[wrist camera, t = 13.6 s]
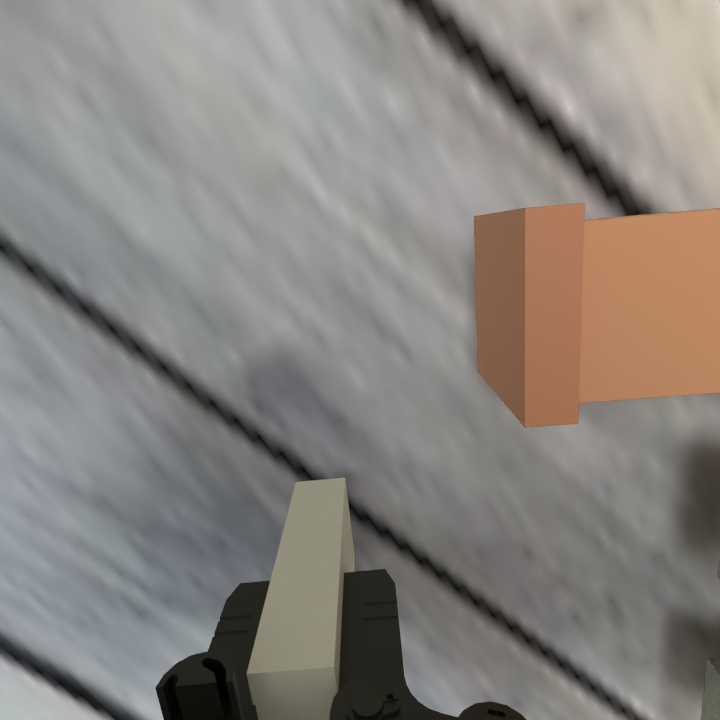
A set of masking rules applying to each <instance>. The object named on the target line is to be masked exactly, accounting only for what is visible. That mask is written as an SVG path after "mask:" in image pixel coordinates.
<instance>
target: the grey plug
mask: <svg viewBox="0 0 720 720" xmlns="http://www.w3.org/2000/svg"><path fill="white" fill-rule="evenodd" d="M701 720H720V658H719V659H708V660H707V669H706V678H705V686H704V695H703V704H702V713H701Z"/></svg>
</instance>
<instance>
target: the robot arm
mask: <svg viewBox="0 0 720 720" xmlns="http://www.w3.org/2000/svg"><path fill="white" fill-rule="evenodd" d="M156 691H157V695H158V699H159V703H160V706H161V710H162V714H163V718H164V720H526V719H525V718H524V717H523V716H522V714H520V713H518V712H517V711H515V710H514V709H512V708H510V707H509V706H507V705H503V704H499V703H495V702H483V703H476V704H474V705H472V706H470V707H469V708H467V709H465V710H463V711H462V713H461V714H460V716H459V717H454V716H450V715H446V714H442V713H439V712H436V711H434V710H431V709H429V708H427V707H426V706H424V705H423V704H421V703H420V702H418V701H417V699H416V698H415V697H414V696H413V695H412V694H411V692H410V691H409V689H408V687H407V685H406V681H405V677H404V669H403V659H402V649H401V639H400V629H399V619H398V609H397V599H396V589H395V583H394V581H393V580H392V579H391V577H390V576H389V574H388V573H387V571H386V570H385V569H381V570H369V571H358V572H355V553H354V545H353V537H352V529H351V521H350V513H349V505H348V496H347V488H346V480H345V478H334V479H324V480H313V481H302V482H295V486H294V490H293V494H292V498H291V502H290V506H289V509H288V513H287V517H286V521H285V525H284V529H283V533H282V537H281V541H280V545H279V549H278V553H277V557H276V560H275V564H274V568H273V572H272V576H271V580H270V581H262V582H250V583H240V585H239V586H238V587H237V588H236V589H235V590H234V592H233V593H232V594H231V595H230V596H229V597H228V599H227V600H226V603H225V605H224V608H223V611H222V614H221V616H220V621H219V622H218V625H217V628H216V630H215V636H214V637H213V639H212V641H211V644H210V647H209V650H208V652H203V653H199V654H195V655H191V656H189V657H187V658H186V659H184V660H182V661H180V662H178V663H177V664H175V665H174V666H173V667H172V668H171V669H170V670H169V671H168V672H166V673H165V674H164V676H163V677H162V679H161V680H160V682H159V683H158V685H157V686H156Z"/></svg>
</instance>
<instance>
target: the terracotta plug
mask: <svg viewBox="0 0 720 720" xmlns="http://www.w3.org/2000/svg"><path fill="white" fill-rule="evenodd" d="M584 209H585V203H578V204H567V205H555V206H543V207H531V208H522V209H516V210H510V211H504V212H498V213H492V214H486V215H480V216H474V236H475V278H476V319H477V361H478V372H479V373H480V374H481V376H482V377H483V378H484V379H485V380H486V381H487V383H488V384H489V385H490V386H491V387H492V389H493V390H494V391H495V392H496V393H497V395H498V396H499V397H500V398H501V399H502V401H503V402H504V403H505V404H506V405H507V407H508V408H509V409H510V410H511V411H512V413H513V414H514V415H515V416H516V417H517V419H518V420H519V421H520V422H521V423H522V425H523V426H524V427H525V428H527V427H540V426H554V425H568V424H578V415H579V403H585V402H599V401H612V400H626V399H639V398H653V397H666V396H679V395H693V394H706V393H720V208H718V209H706V210H694V211H682V212H670V213H658V214H647V215H635V216H623V217H611V218H599V219H587V220H584Z"/></svg>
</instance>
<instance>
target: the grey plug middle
mask: <svg viewBox="0 0 720 720" xmlns="http://www.w3.org/2000/svg"><path fill="white" fill-rule="evenodd" d="M717 578H718V579H719V580H720V556H719V565H718V574H717Z"/></svg>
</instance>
